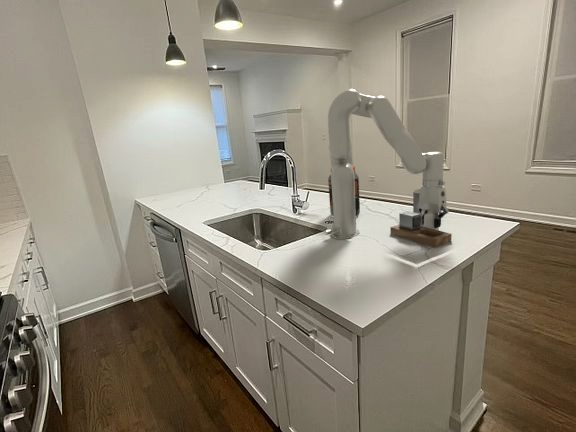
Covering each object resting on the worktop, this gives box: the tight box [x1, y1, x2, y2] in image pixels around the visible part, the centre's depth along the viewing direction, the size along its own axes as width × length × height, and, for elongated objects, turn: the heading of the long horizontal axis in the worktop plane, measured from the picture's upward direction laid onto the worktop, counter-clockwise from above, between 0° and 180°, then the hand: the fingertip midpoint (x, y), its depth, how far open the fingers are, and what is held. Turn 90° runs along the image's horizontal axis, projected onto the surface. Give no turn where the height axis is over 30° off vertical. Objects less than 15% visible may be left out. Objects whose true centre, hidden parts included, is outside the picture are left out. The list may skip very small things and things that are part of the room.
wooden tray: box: [390, 224, 453, 249], centre depth 125 cm, size 10×21×4 cm, turn 29°
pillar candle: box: [412, 188, 429, 221], centre depth 149 cm, size 10×10×15 cm
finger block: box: [398, 210, 422, 231], centre depth 128 cm, size 4×7×9 cm, turn 29°
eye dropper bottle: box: [423, 210, 440, 231], centre depth 132 cm, size 4×6×12 cm
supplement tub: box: [327, 165, 361, 217], centre depth 167 cm, size 16×16×26 cm
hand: (431, 225), depth 133 cm, fingers open, 5 cm apart
